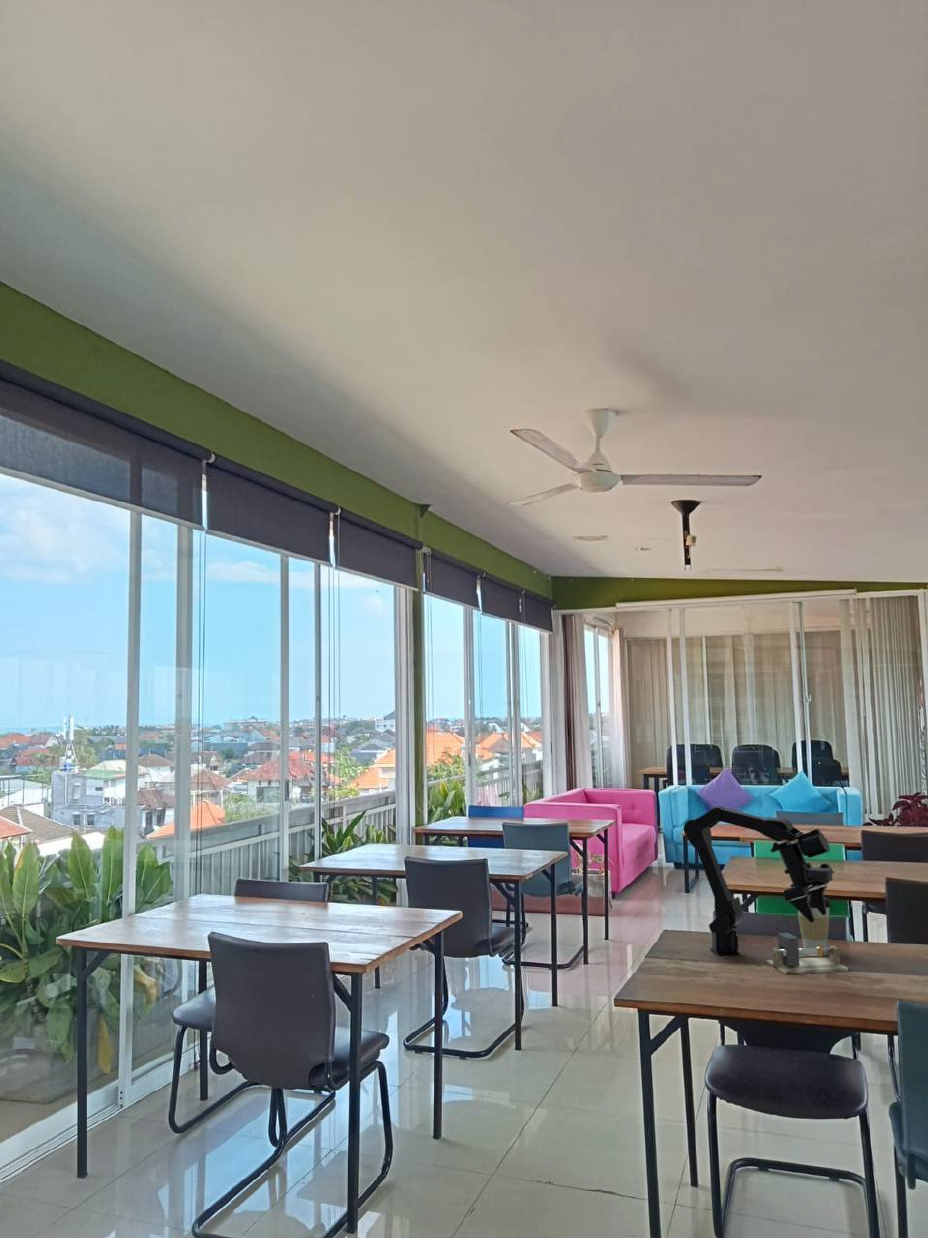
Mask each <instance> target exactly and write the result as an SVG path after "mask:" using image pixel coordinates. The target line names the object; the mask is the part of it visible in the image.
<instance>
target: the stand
mask: <svg viewBox="0 0 928 1238" xmlns="http://www.w3.org/2000/svg"><path fill="white" fill-rule="evenodd" d="M828 947H832V948H833V951H834V954H833V955H828V956H829V957H827V956H823V957H822V956H819V957H803V958H800V957H799V965H800V966H791V967H789V966H787V965H786V964H784V963H783V961H782V951H781V950H780V949H778V947H773V948H771V949H772V950H771V951H772V952H771V953H772V959H766V964H767V965H770V966H771V967H773V968H774V969H776V970H778V971H779V972H780V973H783V974H784V973H799V974H816V973H836V972H837V973H839V972H848V971H849V968H848V967H847V966H845V965H843V964H841V956H840V948H839V947H837V946H836V945H828ZM773 950H775V951H776V954H777V955H776V957H774V955H773ZM774 953H775V952H774Z"/></svg>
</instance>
